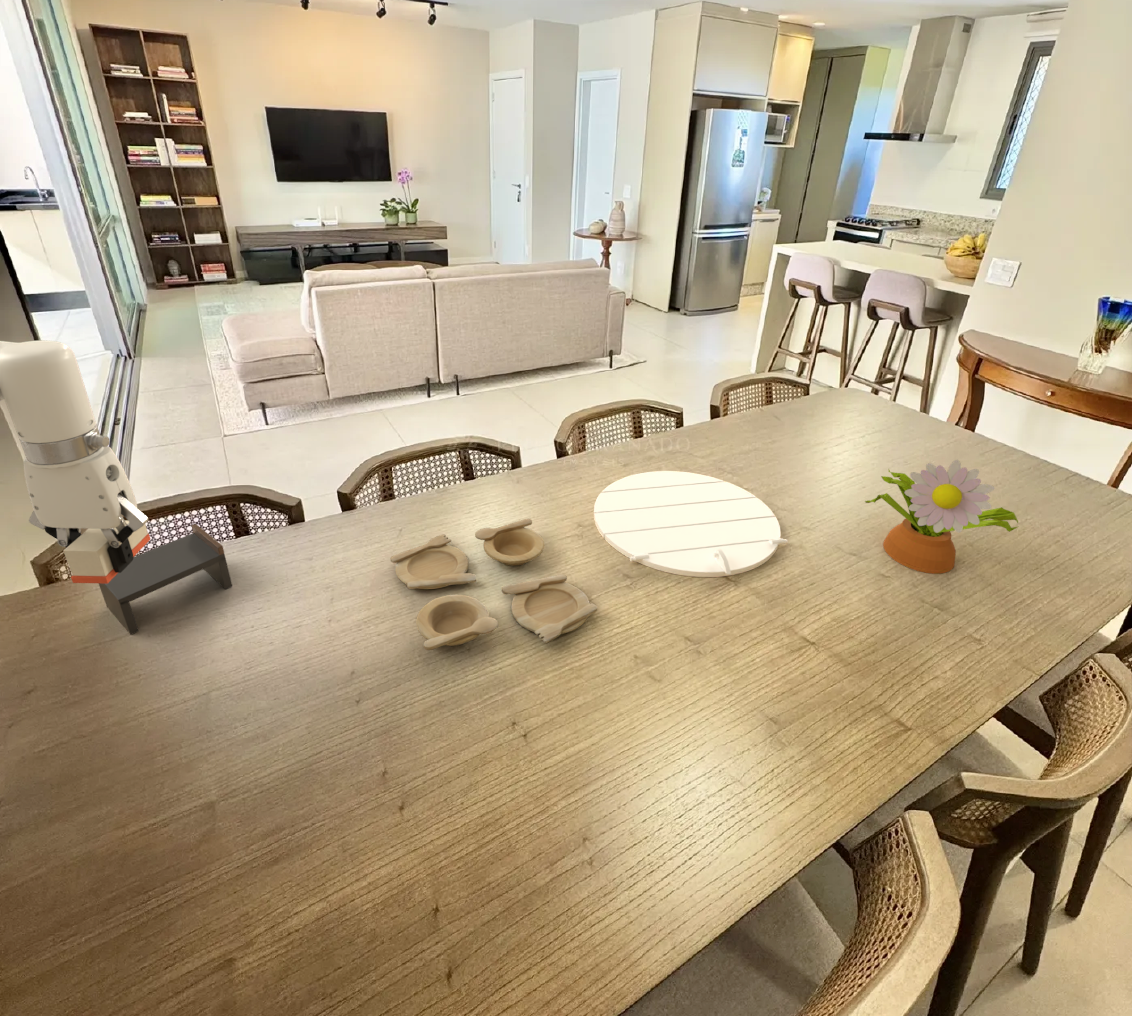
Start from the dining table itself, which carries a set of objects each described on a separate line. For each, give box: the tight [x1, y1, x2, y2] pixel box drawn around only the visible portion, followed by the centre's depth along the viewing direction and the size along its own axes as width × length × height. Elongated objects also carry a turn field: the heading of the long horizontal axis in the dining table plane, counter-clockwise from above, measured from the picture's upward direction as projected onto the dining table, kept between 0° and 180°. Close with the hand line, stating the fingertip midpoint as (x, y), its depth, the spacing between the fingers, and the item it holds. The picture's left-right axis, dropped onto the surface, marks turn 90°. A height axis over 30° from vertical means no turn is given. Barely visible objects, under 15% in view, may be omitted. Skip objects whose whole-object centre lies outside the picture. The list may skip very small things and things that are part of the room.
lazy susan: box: [593, 470, 789, 578], centre depth 135 cm, size 40×39×3 cm
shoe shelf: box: [97, 523, 233, 636], centre depth 106 cm, size 16×10×9 cm, turn 141°
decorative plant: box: [864, 459, 1020, 575], centre depth 123 cm, size 27×24×25 cm
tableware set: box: [389, 518, 598, 651], centre depth 112 cm, size 35×29×4 cm
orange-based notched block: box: [63, 519, 151, 584], centre depth 86 cm, size 10×4×5 cm, turn 2°
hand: (104, 564), depth 85 cm, fingers closed on orange-based notched block, 4 cm apart
